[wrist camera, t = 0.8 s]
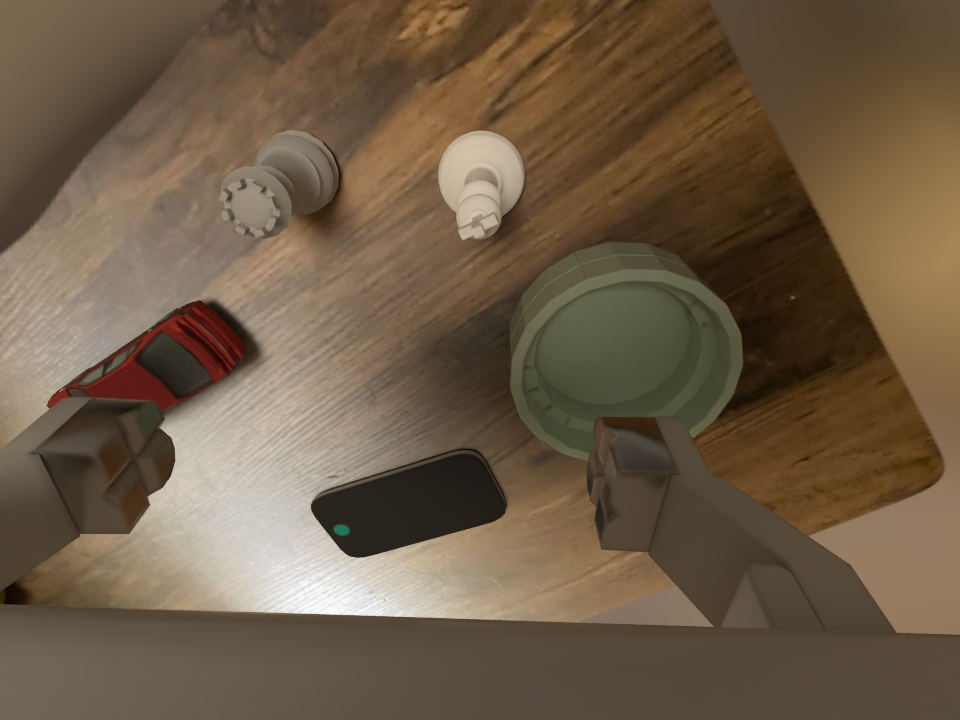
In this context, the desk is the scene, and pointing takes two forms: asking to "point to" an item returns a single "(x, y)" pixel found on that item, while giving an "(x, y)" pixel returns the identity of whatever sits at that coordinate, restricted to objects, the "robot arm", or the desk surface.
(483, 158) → the chess piece
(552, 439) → the bowl
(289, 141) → the rook chess piece
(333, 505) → the smartphone
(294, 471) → the desk surface
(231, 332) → the toy car
